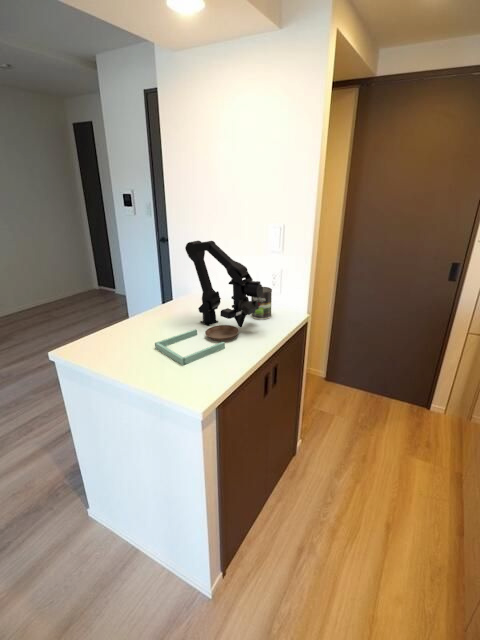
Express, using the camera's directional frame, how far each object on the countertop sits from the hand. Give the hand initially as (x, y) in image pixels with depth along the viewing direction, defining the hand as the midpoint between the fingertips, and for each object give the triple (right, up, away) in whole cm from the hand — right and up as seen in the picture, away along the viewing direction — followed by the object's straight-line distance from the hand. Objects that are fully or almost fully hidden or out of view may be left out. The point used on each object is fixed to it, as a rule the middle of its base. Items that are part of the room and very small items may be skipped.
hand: (240, 327), depth 151 cm
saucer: (-8, -4, -6) cm, 11 cm away
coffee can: (+11, +5, +16) cm, 20 cm away
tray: (-21, -8, -17) cm, 28 cm away
